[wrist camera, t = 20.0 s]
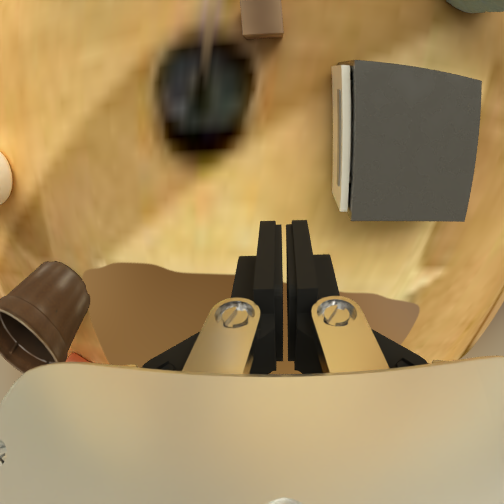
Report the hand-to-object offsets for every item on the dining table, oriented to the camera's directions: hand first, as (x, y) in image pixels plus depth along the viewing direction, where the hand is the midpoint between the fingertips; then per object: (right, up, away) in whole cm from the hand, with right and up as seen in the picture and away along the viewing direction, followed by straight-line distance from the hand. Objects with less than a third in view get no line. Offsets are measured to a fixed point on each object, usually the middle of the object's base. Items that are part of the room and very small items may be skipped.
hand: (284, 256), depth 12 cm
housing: (+16, +14, +22) cm, 31 cm away
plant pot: (-35, -6, +39) cm, 53 cm away
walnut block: (0, +25, +16) cm, 30 cm away
